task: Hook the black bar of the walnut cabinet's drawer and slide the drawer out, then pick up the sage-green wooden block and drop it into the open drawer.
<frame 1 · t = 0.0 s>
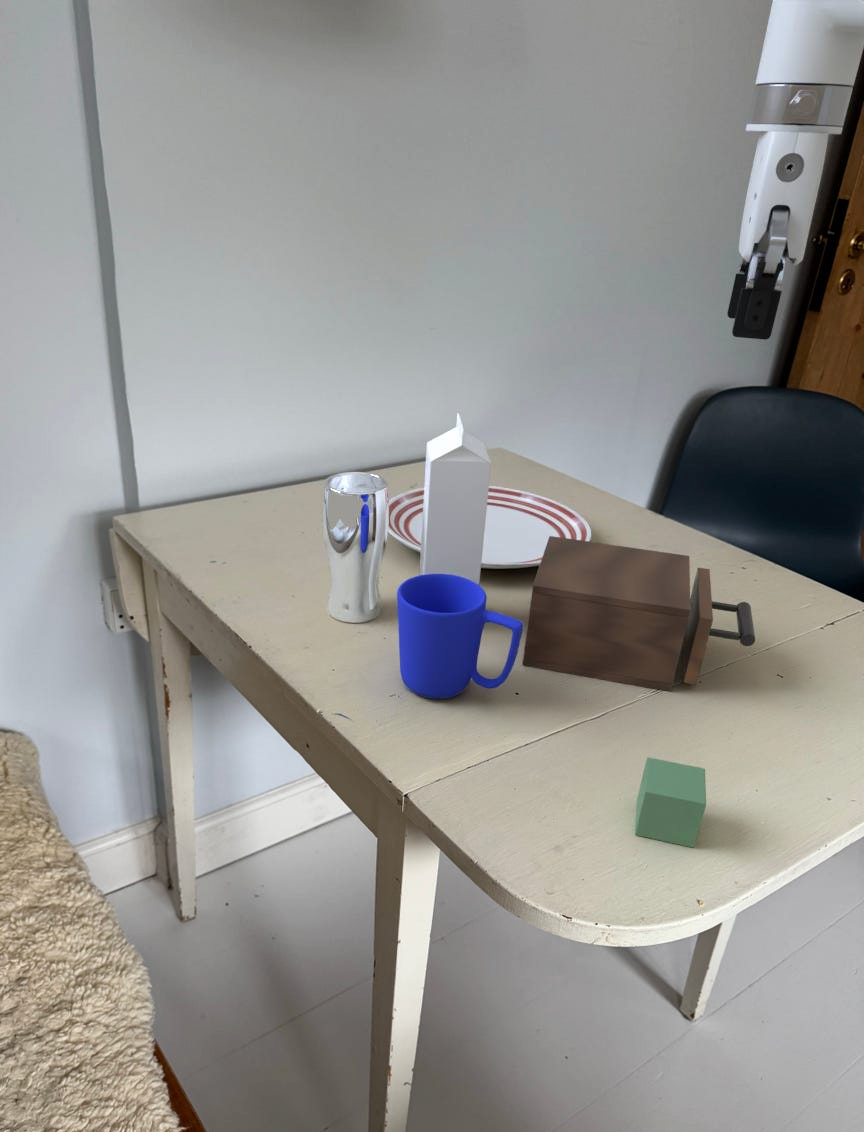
hand: (746, 327, 81), 32 cm above the table, tool pointing down, fingers open, 9 cm apart
beer glass: (354, 611, 97), on the table
block: (664, 823, 68), on the table
mug: (452, 691, 84), on the table
dinner plate: (482, 542, 115), on the table
cabinet: (600, 647, 92), on the table
milk: (445, 618, 97), on the table
drawer: (657, 617, 88), point 5 cm above the table, slide at 1.0 cm
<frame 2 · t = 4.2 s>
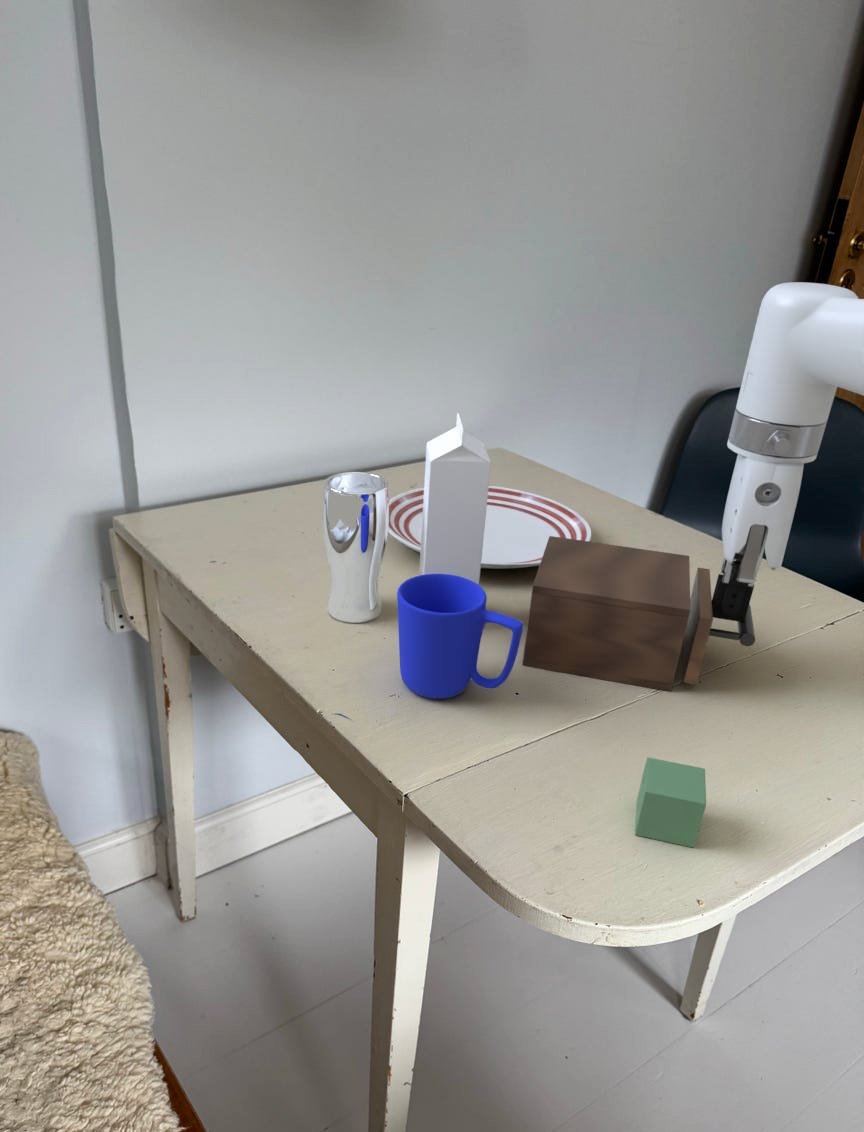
hand: (726, 615, 86), 6 cm above the table, tool pointing down, fingers closed
drawer: (657, 617, 88), point 5 cm above the table, slide at 1.0 cm, touching gripper
everything else where it was.
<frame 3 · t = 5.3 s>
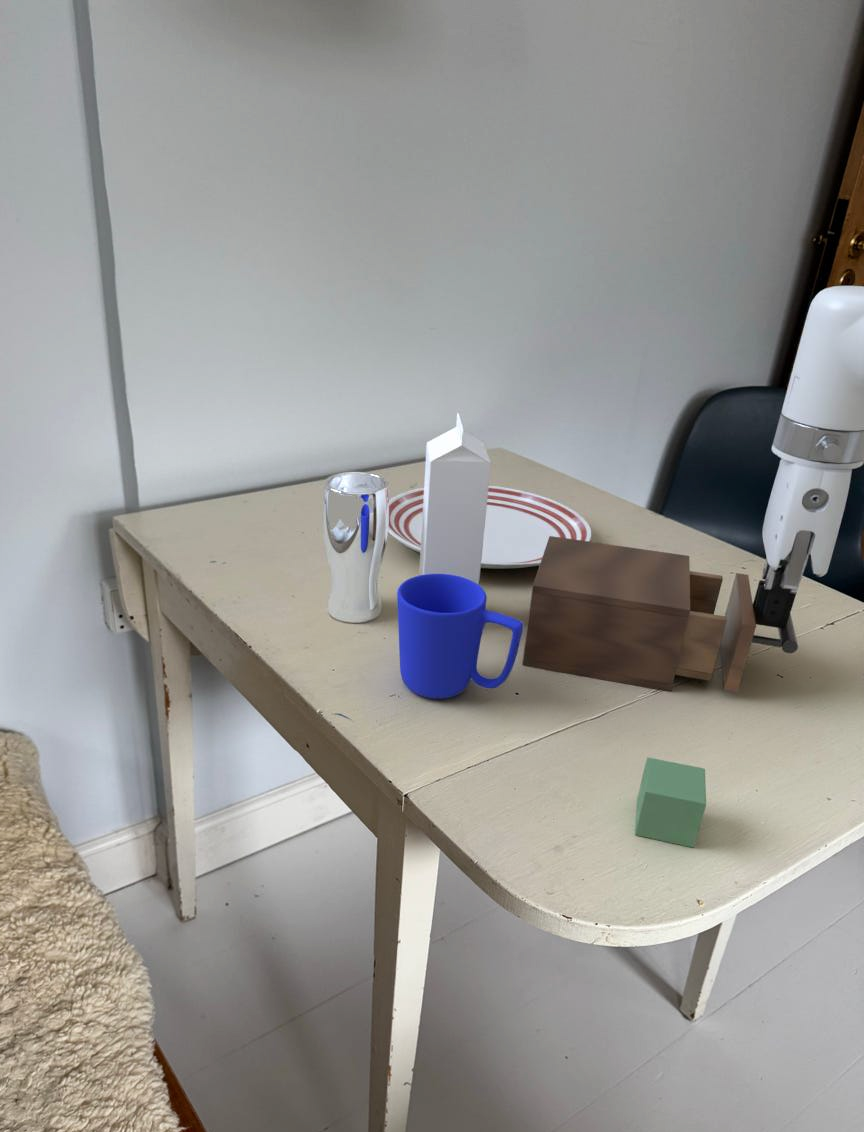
hand: (767, 622, 85), 6 cm above the table, tool pointing down, fingers closed
drawer: (696, 623, 87), point 5 cm above the table, slide at 4.8 cm, touching gripper
everything else where it was.
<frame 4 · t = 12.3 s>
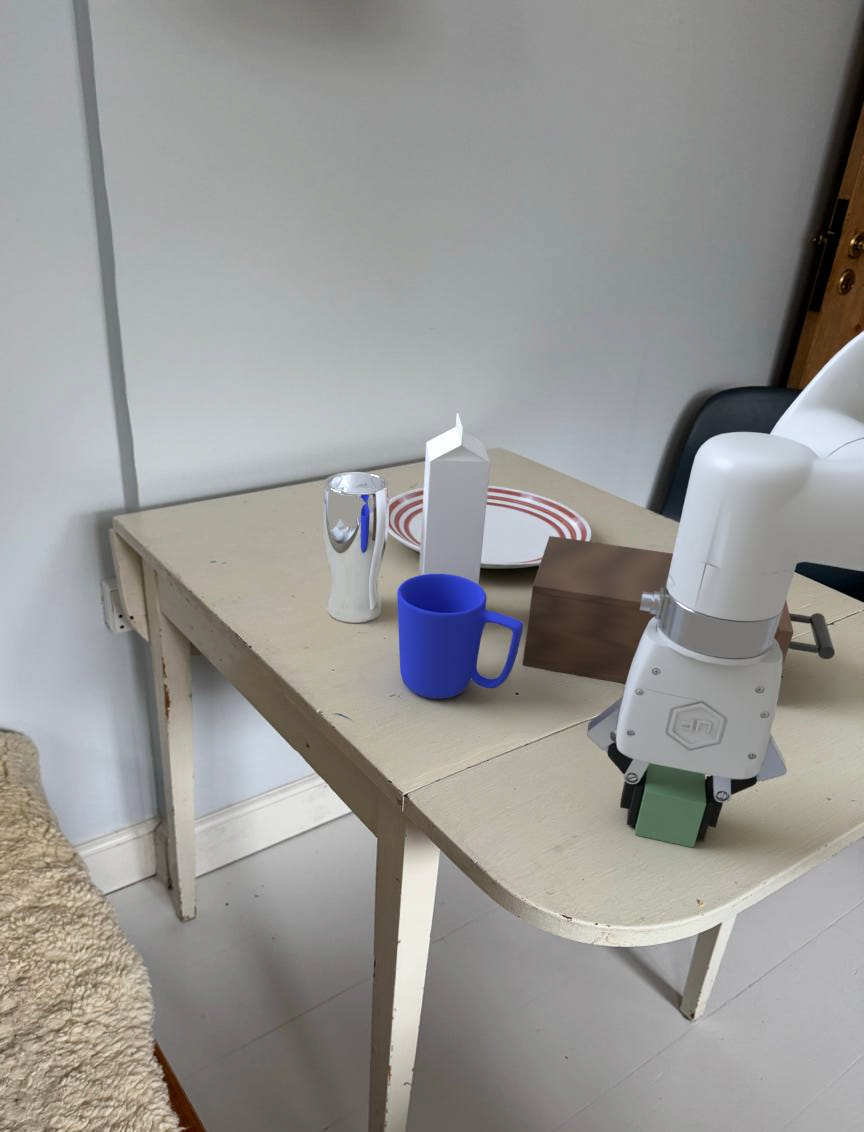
hand: (665, 819, 68), 0 cm above the table, tool pointing down, fingers closed on block, 4 cm apart
block: (664, 823, 68), on the table, touching gripper
drawer: (729, 629, 87), point 5 cm above the table, slide at 8.0 cm
everything else where it was.
when the fingers open (10 cm above the table, at t = 19.0 s): block drops 7 cm, resting on drawer.
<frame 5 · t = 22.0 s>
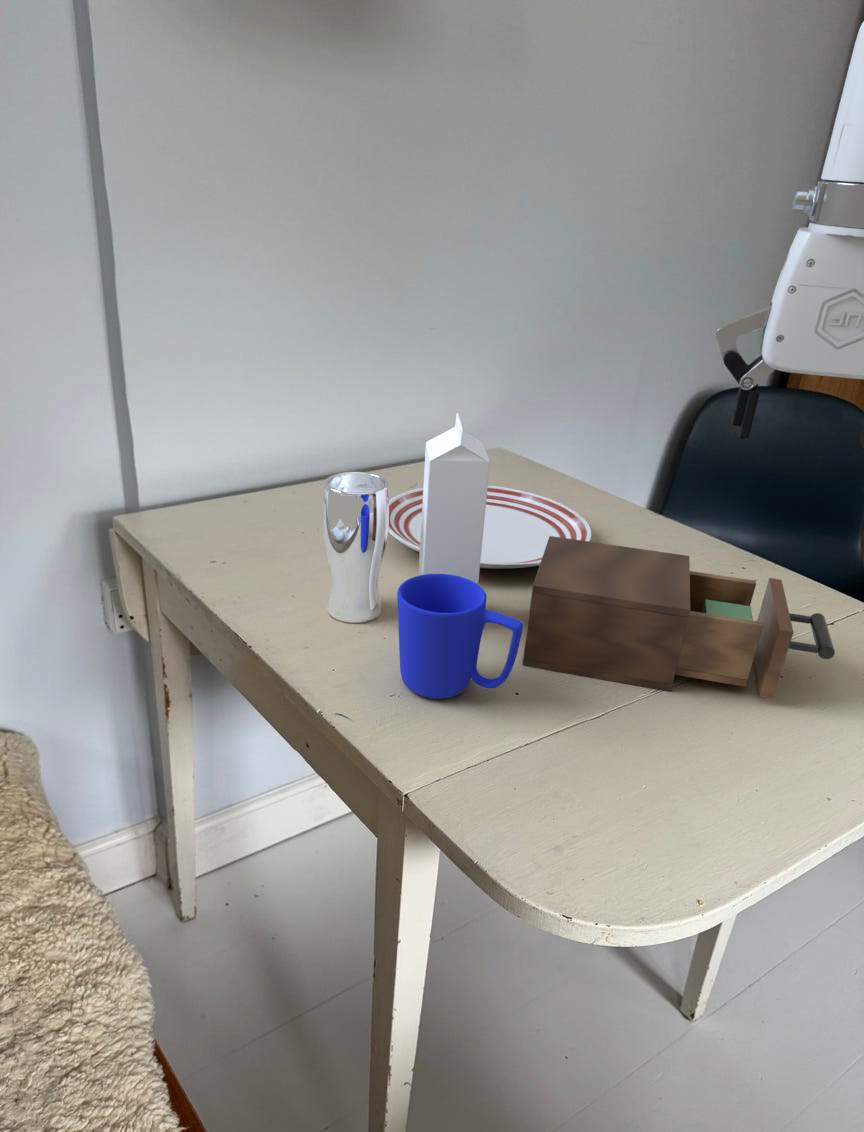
hand: (803, 441, 72), 25 cm above the table, tool pointing down, fingers open, 9 cm apart
block: (718, 650, 88), point 2 cm above the table, touching drawer
drawer: (729, 629, 87), point 5 cm above the table, slide at 8.0 cm, touching block
everything else where it was.
at the end: drawer slide at 8.0 cm; block inside the target area in the drawer (6.1 cm from its centre), point 2.0 cm above the cabinet's base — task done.
